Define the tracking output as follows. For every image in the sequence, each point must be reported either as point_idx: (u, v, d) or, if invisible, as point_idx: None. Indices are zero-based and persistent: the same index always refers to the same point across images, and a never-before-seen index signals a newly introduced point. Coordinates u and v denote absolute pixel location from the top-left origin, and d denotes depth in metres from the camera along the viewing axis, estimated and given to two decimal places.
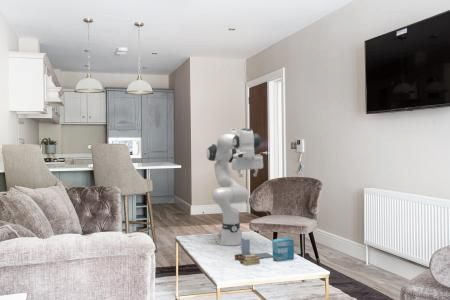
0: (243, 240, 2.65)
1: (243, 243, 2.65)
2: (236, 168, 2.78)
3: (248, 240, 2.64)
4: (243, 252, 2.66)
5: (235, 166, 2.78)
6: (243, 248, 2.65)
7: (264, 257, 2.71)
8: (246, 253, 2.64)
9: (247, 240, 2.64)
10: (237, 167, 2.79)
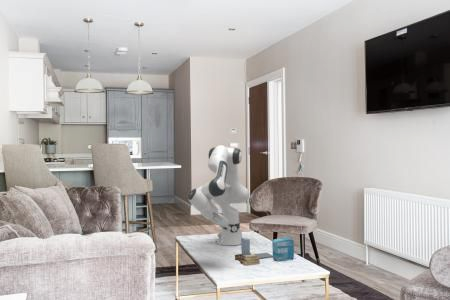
0: (243, 240, 2.65)
1: (243, 243, 2.65)
2: (213, 222, 2.67)
3: (248, 240, 2.64)
4: (243, 252, 2.66)
5: (211, 221, 2.68)
6: (243, 248, 2.65)
7: (264, 257, 2.71)
8: (246, 253, 2.64)
9: (247, 240, 2.64)
10: (212, 221, 2.67)
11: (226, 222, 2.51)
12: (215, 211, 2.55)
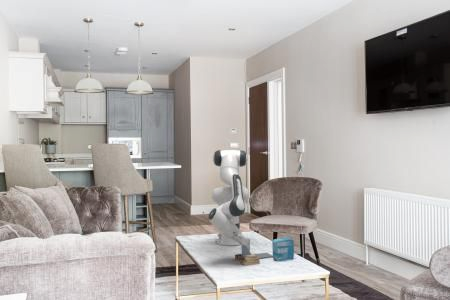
0: None
1: None
2: (232, 239, 2.72)
3: (248, 240, 2.64)
4: (243, 252, 2.66)
5: None
6: (243, 248, 2.65)
7: (264, 257, 2.71)
8: (246, 253, 2.64)
9: None
10: (232, 239, 2.72)
11: (246, 242, 2.56)
12: (235, 230, 2.60)
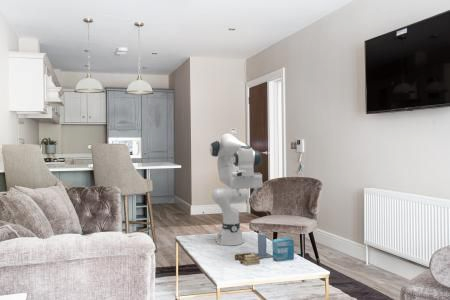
0: (260, 235, 2.75)
1: (260, 238, 2.75)
2: (235, 187, 2.68)
3: (264, 235, 2.73)
4: (260, 247, 2.75)
5: (234, 185, 2.68)
6: (260, 243, 2.75)
7: (264, 257, 2.71)
8: (263, 248, 2.73)
9: (264, 235, 2.73)
10: (236, 186, 2.69)
11: None
12: None
